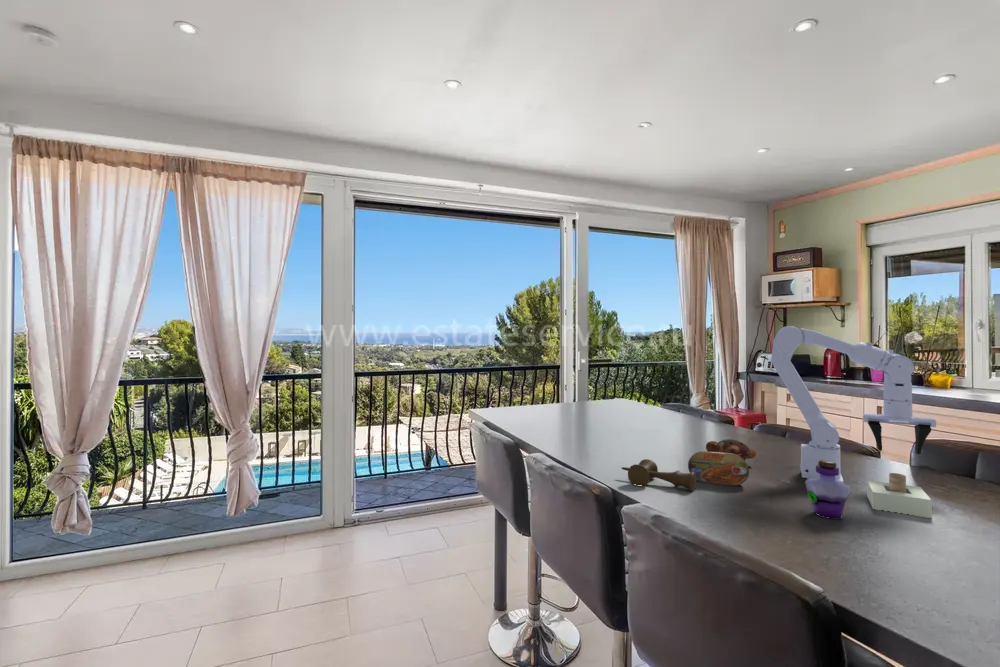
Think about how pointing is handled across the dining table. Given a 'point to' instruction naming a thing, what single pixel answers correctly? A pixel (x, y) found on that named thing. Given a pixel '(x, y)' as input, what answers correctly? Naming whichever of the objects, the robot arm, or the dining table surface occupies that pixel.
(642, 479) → the kendama
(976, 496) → the dining table surface
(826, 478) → the potion bottle
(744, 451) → the decorative turtle
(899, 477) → the peg
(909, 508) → the socket block
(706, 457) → the tin
